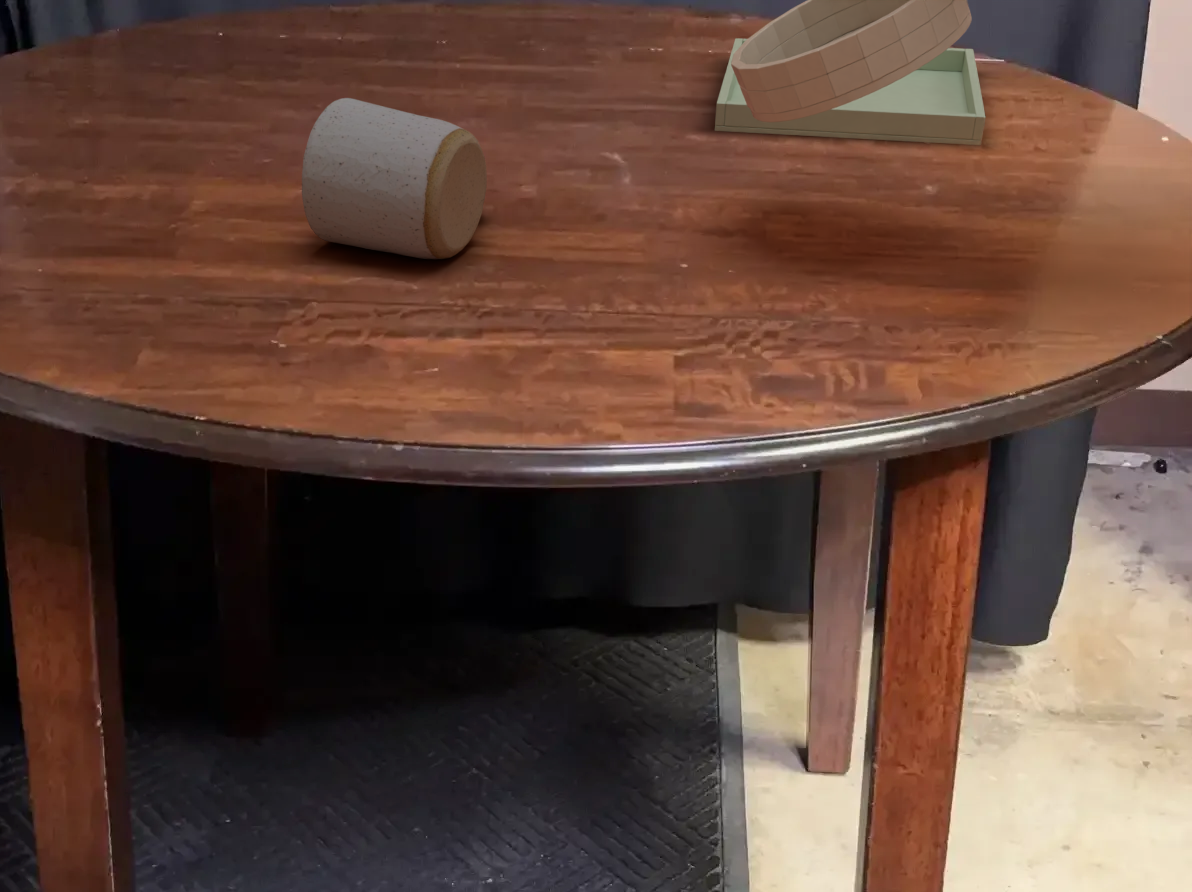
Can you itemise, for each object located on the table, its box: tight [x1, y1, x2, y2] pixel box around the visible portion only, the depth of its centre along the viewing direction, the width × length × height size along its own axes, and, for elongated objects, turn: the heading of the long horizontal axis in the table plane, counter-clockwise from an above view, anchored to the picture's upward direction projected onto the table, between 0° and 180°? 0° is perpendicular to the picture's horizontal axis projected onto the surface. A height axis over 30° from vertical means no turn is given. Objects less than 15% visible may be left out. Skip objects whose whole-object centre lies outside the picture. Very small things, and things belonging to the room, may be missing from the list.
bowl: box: [731, 0, 973, 122], centre depth 79 cm, size 12×12×3 cm
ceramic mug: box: [301, 97, 488, 260], centre depth 83 cm, size 11×8×8 cm
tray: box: [714, 37, 987, 146], centre depth 105 cm, size 17×16×2 cm
